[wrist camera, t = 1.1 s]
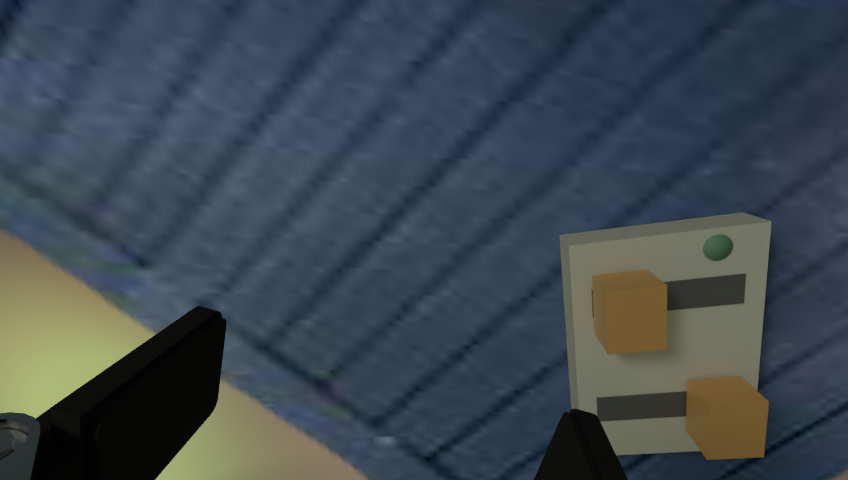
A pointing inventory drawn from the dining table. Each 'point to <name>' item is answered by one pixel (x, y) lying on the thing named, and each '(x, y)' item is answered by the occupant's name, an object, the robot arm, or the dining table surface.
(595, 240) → the switch panel
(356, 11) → the dining table surface
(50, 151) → the dining table surface
